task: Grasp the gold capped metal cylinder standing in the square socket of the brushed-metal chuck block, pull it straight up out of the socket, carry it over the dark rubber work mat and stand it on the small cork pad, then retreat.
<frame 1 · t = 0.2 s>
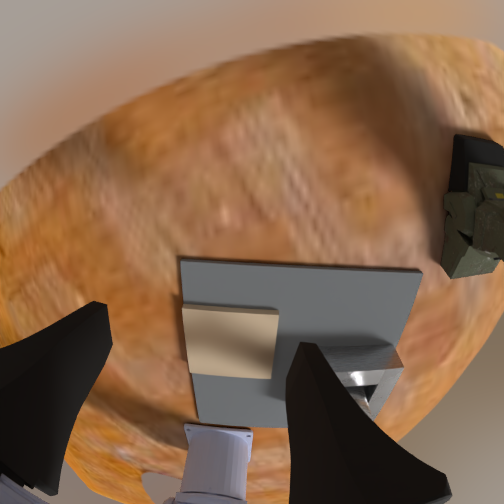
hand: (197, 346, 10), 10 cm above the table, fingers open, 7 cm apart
work mat: (293, 367, 24), on the table
chuck block: (343, 389, 22), on the work mat
cork pad: (230, 342, 22), resting on work mat
gold capped metal cylinder: (348, 411, 20), in the chuck block, touching work mat
mechanical leg: (470, 214, 17), on the table
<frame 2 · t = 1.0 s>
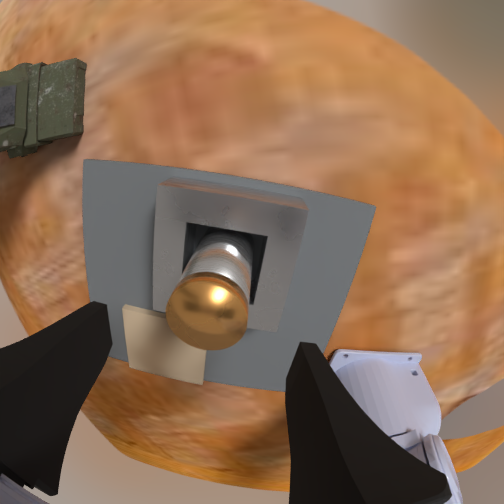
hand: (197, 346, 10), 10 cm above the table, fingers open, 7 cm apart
work mat: (206, 297, 21), on the table
chuck block: (224, 255, 17), on the work mat
cork pad: (165, 345, 22), resting on work mat
gold capped metal cylinder: (218, 274, 15), in the chuck block, touching work mat
mechanical leg: (45, 107, 15), on the table
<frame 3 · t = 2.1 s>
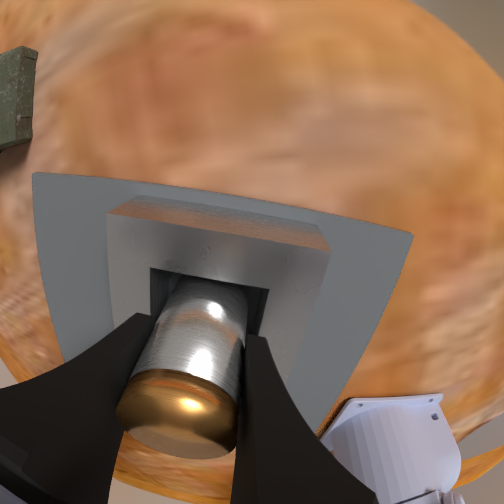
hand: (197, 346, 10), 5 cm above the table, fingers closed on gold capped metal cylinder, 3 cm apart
work mat: (190, 345, 16), on the table
chuck block: (209, 305, 12), on the work mat
gold capped metal cylinder: (198, 342, 10), in the chuck block, touching gripper, work mat
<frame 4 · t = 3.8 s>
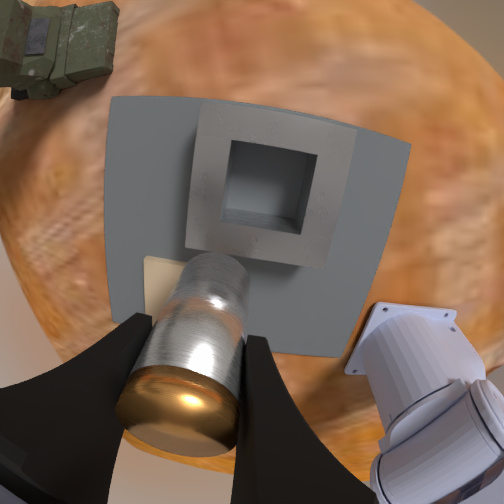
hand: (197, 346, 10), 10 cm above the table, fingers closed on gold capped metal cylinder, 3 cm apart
work mat: (240, 241, 19), on the table
chuck block: (267, 183, 16), on the work mat
cork pad: (190, 304, 21), resting on work mat
gold capped metal cylinder: (199, 339, 10), point 10 cm above the table, touching gripper
mechanical leg: (71, 53, 14), on the table
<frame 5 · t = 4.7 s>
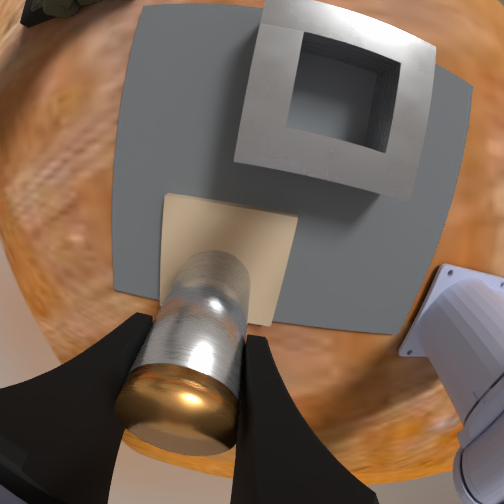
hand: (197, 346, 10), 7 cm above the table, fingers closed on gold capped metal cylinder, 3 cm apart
work mat: (294, 175, 15), on the table
chuck block: (338, 94, 11), on the work mat
cork pad: (222, 262, 16), resting on work mat
gold capped metal cylinder: (198, 337, 10), point 7 cm above the table, touching gripper
when the fingers open (6 cm above the table, at t = 5.3 s): gold capped metal cylinder stays where it is, resting on cork pad.
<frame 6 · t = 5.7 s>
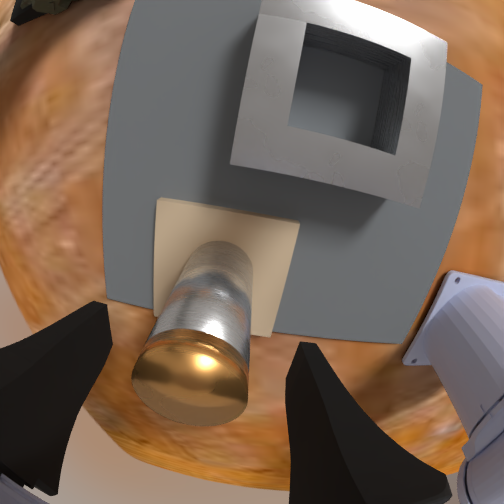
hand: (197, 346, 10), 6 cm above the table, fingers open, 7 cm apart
work mat: (296, 178, 14), on the table
chuck block: (344, 91, 10), on the work mat
cork pad: (219, 270, 15), resting on work mat
gold capped metal cylinder: (207, 317, 11), on the cork pad, point 5 cm above the table
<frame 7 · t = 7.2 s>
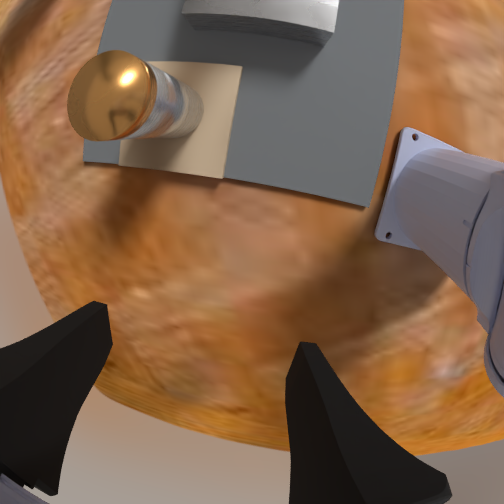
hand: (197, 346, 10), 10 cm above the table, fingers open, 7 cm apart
work mat: (241, 41, 14), on the table
cork pad: (177, 115, 16), resting on work mat
gold capped metal cylinder: (148, 104, 11), on the cork pad, point 5 cm above the table
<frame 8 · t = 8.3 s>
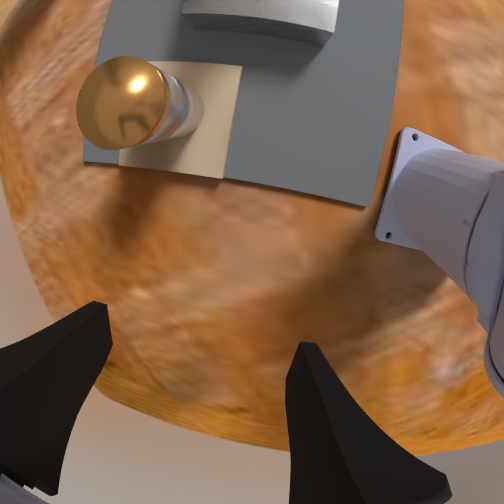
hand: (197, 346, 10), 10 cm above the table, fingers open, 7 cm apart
work mat: (241, 41, 14), on the table
cork pad: (177, 115, 16), resting on work mat
gold capped metal cylinder: (153, 107, 11), on the cork pad, point 5 cm above the table
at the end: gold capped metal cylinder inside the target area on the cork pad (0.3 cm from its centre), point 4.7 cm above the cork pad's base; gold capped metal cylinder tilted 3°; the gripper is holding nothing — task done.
